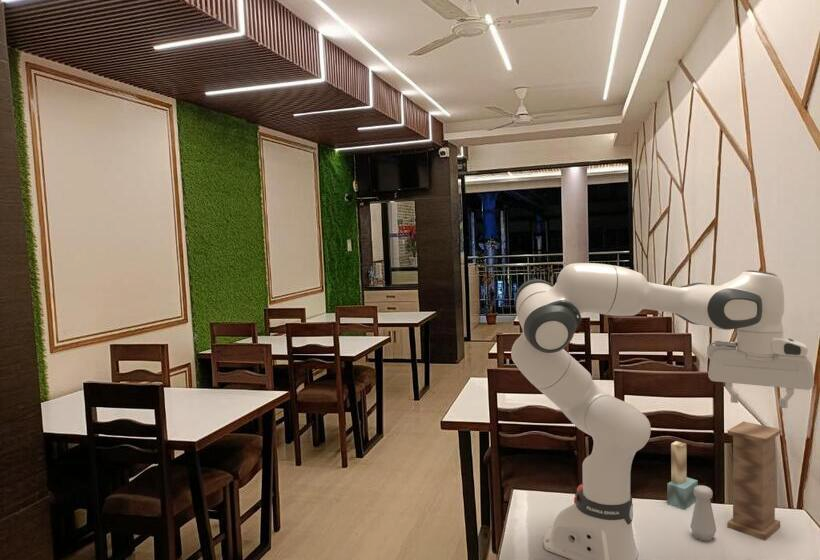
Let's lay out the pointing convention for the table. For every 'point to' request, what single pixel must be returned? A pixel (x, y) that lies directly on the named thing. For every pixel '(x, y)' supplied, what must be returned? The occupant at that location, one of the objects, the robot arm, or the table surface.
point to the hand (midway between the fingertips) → (758, 404)
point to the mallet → (680, 479)
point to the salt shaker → (703, 514)
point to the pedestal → (754, 480)
